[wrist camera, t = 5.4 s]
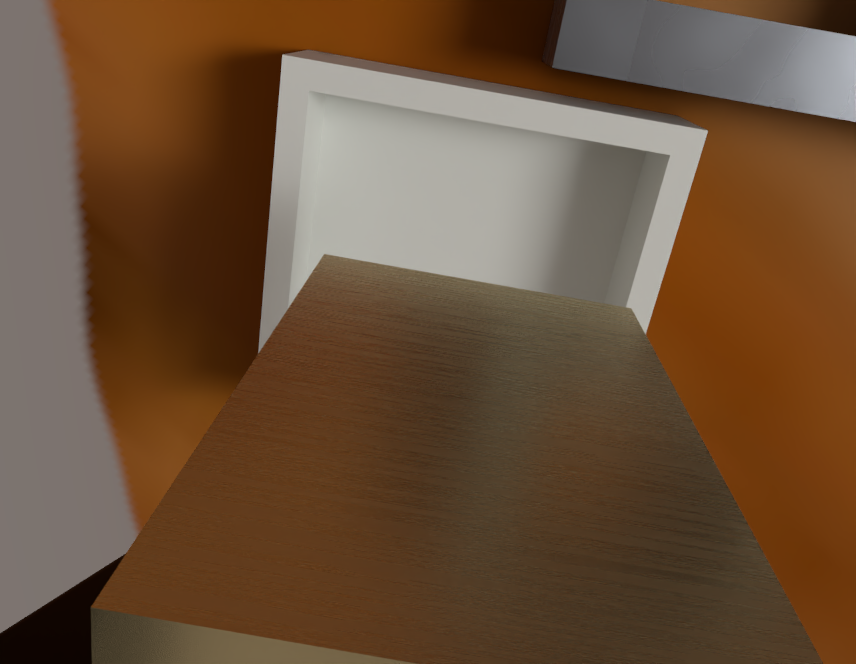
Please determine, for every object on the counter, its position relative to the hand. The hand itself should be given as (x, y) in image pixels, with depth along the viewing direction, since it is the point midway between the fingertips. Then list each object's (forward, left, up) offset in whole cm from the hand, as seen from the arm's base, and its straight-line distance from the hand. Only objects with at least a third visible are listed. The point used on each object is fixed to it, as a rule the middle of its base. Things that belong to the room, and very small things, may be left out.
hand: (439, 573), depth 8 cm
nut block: (0, 0, -4) cm, 4 cm away
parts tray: (0, 0, -12) cm, 12 cm away
